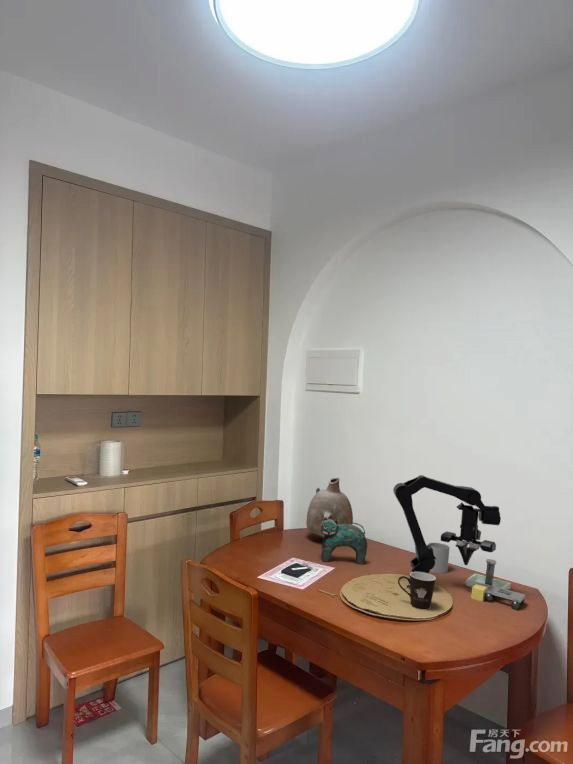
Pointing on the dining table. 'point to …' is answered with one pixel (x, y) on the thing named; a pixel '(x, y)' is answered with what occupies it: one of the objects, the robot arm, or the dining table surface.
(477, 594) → the yellow block
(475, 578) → the tray
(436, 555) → the cup
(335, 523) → the ceramic cat
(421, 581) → the coffee mug
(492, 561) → the pin
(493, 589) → the cart
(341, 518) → the jug
